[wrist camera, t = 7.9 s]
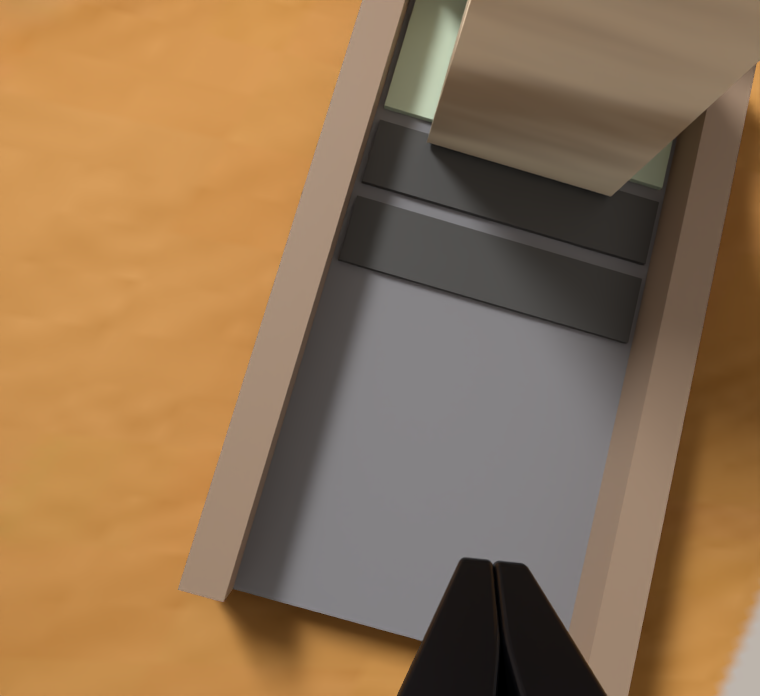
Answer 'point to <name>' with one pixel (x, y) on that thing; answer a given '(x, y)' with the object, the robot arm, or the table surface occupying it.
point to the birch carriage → (588, 81)
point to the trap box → (466, 364)
